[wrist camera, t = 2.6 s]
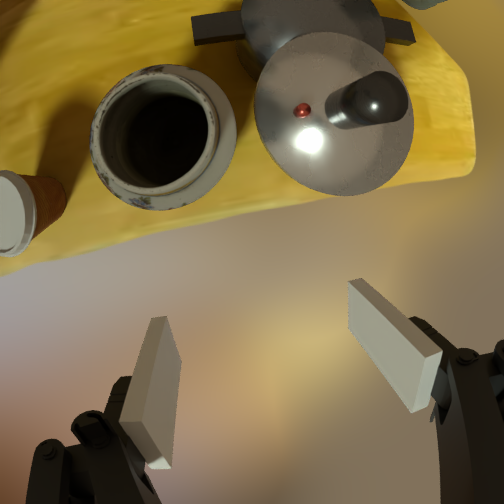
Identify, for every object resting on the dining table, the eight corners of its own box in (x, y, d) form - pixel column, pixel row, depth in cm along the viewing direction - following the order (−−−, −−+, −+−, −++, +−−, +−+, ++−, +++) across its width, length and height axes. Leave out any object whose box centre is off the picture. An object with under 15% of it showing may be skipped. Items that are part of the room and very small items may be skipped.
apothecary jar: (173, 212, 37) (140, 256, 20) (114, 141, 33) (40, 132, 16) (249, 150, 36) (279, 140, 19) (188, 78, 32) (169, 15, 15)
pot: (392, 98, 36) (430, 89, 27) (204, 111, 34) (201, 95, 25) (369, 4, 31) (399, -19, 22) (189, 5, 29) (185, -29, 20)
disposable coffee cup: (78, 232, 36) (34, 260, 25) (26, 234, 35) (-23, 260, 23) (75, 161, 33) (25, 165, 22) (21, 169, 32) (-32, 177, 21)
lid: (414, 186, 30) (470, 198, 21) (267, 205, 29) (291, 226, 20) (392, 42, 25) (441, 17, 16) (241, 38, 24) (253, -7, 15)
